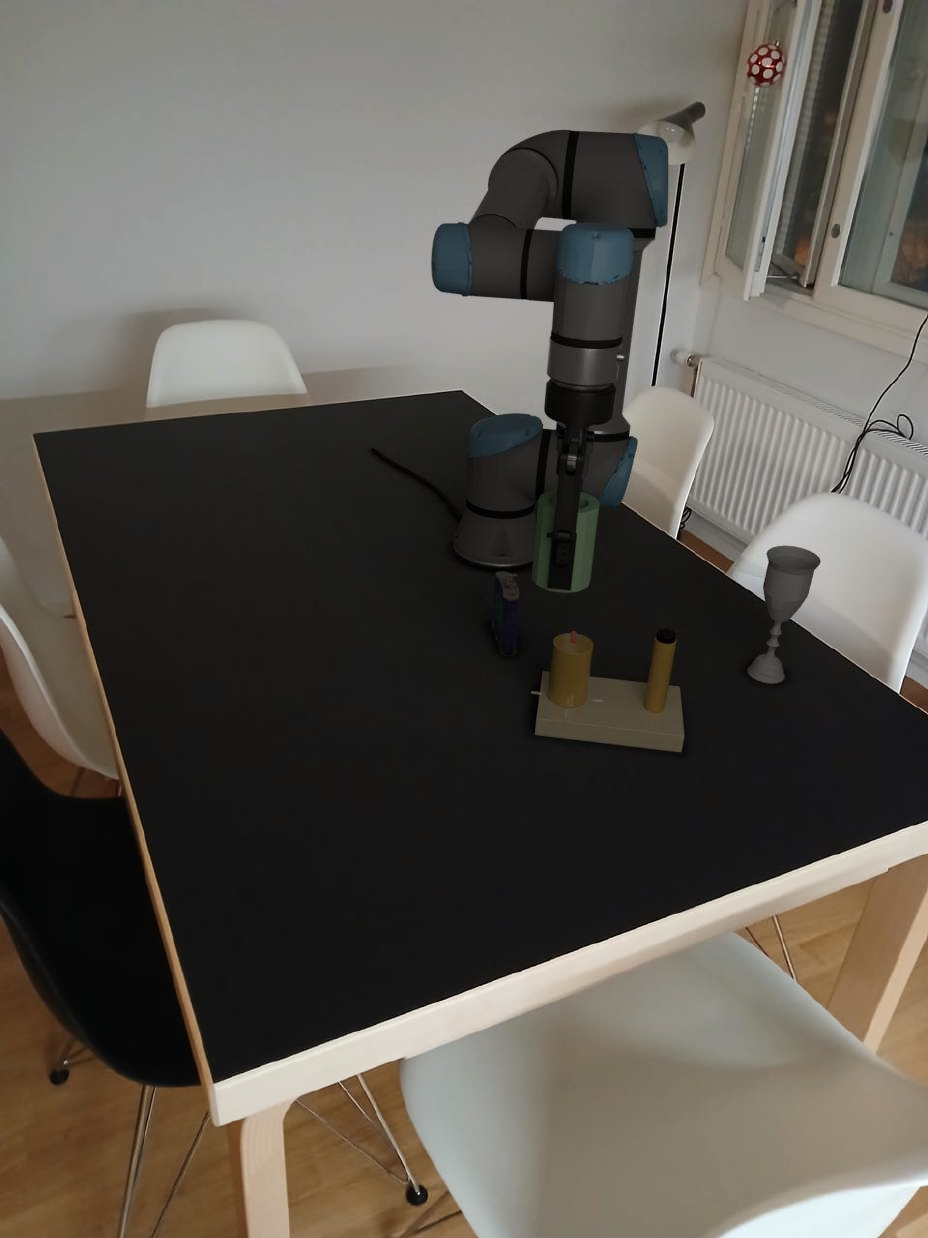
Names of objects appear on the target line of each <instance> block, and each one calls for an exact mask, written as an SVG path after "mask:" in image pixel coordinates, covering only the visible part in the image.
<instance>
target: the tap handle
mask: <svg viewBox="0 0 928 1238" xmlns="http://www.w3.org/2000/svg"><path fill="white" fill-rule="evenodd" d="M593 654H594V642H593V640H592V639H590V638H589V637H588V636H586V635H584V634H581V633H577V631H575V630H571V632H566V633H560V634H558V635H556V636H555V637H554V638H553V641H552V647H551V657H550V667H549V672H550V675H549V685H548V698H549V700H550V701H551V702H552V703H554V704H556V705H558V706H561V707H566V708H574V707H579V706H581V705H583V704H584V703H585V702H586V700H587V693H588V685H589V677H591V669H592V661H593Z"/></svg>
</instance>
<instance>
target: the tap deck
mask: <svg viewBox="0 0 928 1238" xmlns="http://www.w3.org/2000/svg"><path fill="white" fill-rule="evenodd" d="M549 675H550V671H544V670H543V671H542V675H541V682H540V688H539V689H540V690H539V691H536V690H535V691H534V690H531V692H530V694H532V695H538V704H537V711H536V716H535V717H536V719H535V726H534V727H535V728H534V735H535V736H540V737H550V738H557V739H566V740H574V741H582V742H583V741H584V742H592V743H598V744H599V743H600V744H606V745H607V744H609V745H614V746H615V745H616V746H625V747H633V748H640V749H641V748H642V749H650V750H657V751H665V752H666V751H667V752H674V753H675V752H676V753H682V751H683V746H684V741H685V727H684V715H683V703H682V695H681V686H678V685H670V684H669V686H668V692H667V698H666V703H665V709H664V711H663V712H661V713H652V712H649V711H647V710H646V709H645V708H644V701H645V695H646V689H647V683H648V682H643V681H633V680H626V679H616V678H607V677H599V676H598V677H597V676H590V677H589V685H588V693H587V700H586V702H585V703H584V704H583V705H581V706H579V707H574V708H566V707H561V706H558V705H556V704H554V703H552V702H551V701H550V700H549V698H548V685H549Z"/></svg>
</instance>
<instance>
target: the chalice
mask: <svg viewBox="0 0 928 1238" xmlns="http://www.w3.org/2000/svg"><path fill="white" fill-rule="evenodd" d="M766 558H767V561H768V562H767V566H766V570H765V571H766V572H765V576H764V580H763V584H762V591H763V596H764V597H763V598H764V602H765V606H766V609H767V613H768V617H769V618H770V619H772V620H773V621H774V622H773V623H774V624H773V625H772V628H771V629H769V633H770V638H769V640H767V641H766V645H767V651H766V653H762V654H759V655H758V656H757V657H755V658H754V661H752V662H751V664H750V665H749V666H748V667H747V669H746V670H747V674H748V675H749V676H750V677H751V678H752V679H754V680H755V681H758V682H761V683H763V684H764V683H765V684H778V683H781V682H783V681H784V680H785V678H786V675H785V673H784V668H783V663H782V661H781V659H780V658H779V657H777V656H776V655H775V651H776V649H777V648H778V647H780V642H779V637H780V635H782V630H781V627H782V626H781V625H782V623H785V622H788V621H790V620H791V619H792V617H793V616H795V614H796V613H797V612H798V611H799V610H800V608H801V607H802V606H803V604H804V602H805V601H806V600H807V598H808V597H809V594H810V590H811V585H812V582H813V577H814V574H815V571H816V569H817V568H818V567H819V566H820V565H821V563H822V561H821V558H820V557H819V556H818V555H817V554H816V553H815V552H813V551H811V550H810V549H806V548H803V547H800V546H795V545H777V546H772V547H771V548H769V549H768V550H767V552H766Z"/></svg>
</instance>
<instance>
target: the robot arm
mask: <svg viewBox="0 0 928 1238" xmlns="http://www.w3.org/2000/svg"><path fill="white" fill-rule="evenodd" d="M668 215H669V147H668V143H667V141H666V140H664V139H663V137H660V136H658V135H652V134H651V135H650V134H644V133H638V132H633V133H631V132H612V131H610V132H609V131H592V130H591V131H590V130H589V131H588V130H571V129H555V130H549V131H544V132H541V133H538V134H535V135H532V136H530V137H528V138H525V139H524V140H521V141H519V142H518V143H516V144H514V145H513V146H511V147H509V148H508V149H506V151H504V152H503V154H501V155H500V156H499V157H498V159H497V160H496V162H495V163H494V164H493V166H492V168H491V170H490V172H489V176H488V182H487V191H486V193H485V194H484V196H483V197H482V200H481V201H480V202H479V204H478V206H477V208H476V210H475V211H474V213H473V215H472V216H471V218H470V219H469V221H468V223H465V222H464V221H459V222H456V223H455V222H444V223H441V224H440V225H438V227H437V228H436V230H435V231H434V232H435V233H434V236H433V240H432V246H431V258H430V259H431V260H430V263H431V264H430V269H431V279H432V283H433V285H434V287H435V289H436V290H437V291H438V292H440V293H446V294H453V295H460V296H461V297H463V298H465V297H466V298H467V297H477V298H491V299H492V298H493V299H506V300H507V299H509V300H519V301H520V300H522V301H524V300H525V301H531V302H532V301H533V302H545V303H553V305H552V321H551V330H550V336H549V340H548V351H547V353H548V354H547V363H546V375H547V376H548V378H549V379H548V380H547V381H546V383H545V394H544V407H543V412H544V414H545V415H546V417H547V418H548V419H550V420H552V421H554V422H555V429H551V428H544V424H543V420H542V418H540V417H539V416H537V415H531V414H530V413H523V412H522V413H519V412H511V413H501V414H495V415H491V416H489V417H485V418H483V419H481V420H479V421H477V422H476V423H475V424H474V425H473V426H472V427H471V428H470V431H469V437H468V446H467V449H466V455H467V466H466V488H465V506H464V510H463V513H462V515H461V514H460V513H459V512H458V511H457V509H456V508H455V507H454V505H453V504H452V502H451V501H450V499H448V497H447V496H446V495H445V494H444V493H443V492H442V491H441V490H440V489H439V488H438V487H437V486H436V485H435V484H433V483H432V482H430V481H429V480H427V479H425V478H424V477H422V476H420V475H419V474H417V473H416V472H414V471H412V470H411V469H408V468H407V467H406V466H403V465H401V464H399V463H397V462H395V461H394V460H392V459H390V458H388V456H385V455H384V454H383V453H381V452H380V451H378V450H377V449H376V448H374V447H371V448H370V451H371V452H373V453H374V454H375V455H377V456H378V457H380V459H382V460H384V461H385V462H387V463H388V464H389V465H392V466H393V467H396V468H397V469H399V470H401V471H403V472H404V473H406V474H407V475H410V476H412V477H414V478H415V479H417V480H419V481H420V482H422V483H424V484H425V485H427V486H428V487H429V488H430V489H432V490H433V492H435V493H437V495H438V496H439V497H440V498H441V499H442V500H443V501H444V502H445V504H447V506H448V508H449V509H450V510H451V512H452V514H453V515H454V516H455V517H456V518H457V519H458V520H460V521H459V523H458V525H457V529H456V531H455V533H454V536H453V540H452V552H453V555H454V556H455V557H456V558H457V560H458V561H460V562H462V563H464V564H466V565H468V566H470V567H473V568H476V569H481V570H484V571H491V572H492V571H494V572H500V571H505V572H512V571H519V570H523V569H527V568H530V567H533V555H534V544H535V532H536V521H537V514H536V503H537V502H538V500H539V498H540V496H541V494H544V493H546V492H549V491H553V490H557V498H556V508H555V518H554V527H553V532H547V535H546V538H552V545H551V555H550V565H549V576H548V586H547V588H552V589H560V590H569V591H571V586H572V577H573V568H574V559H575V550H576V540H577V533H576V528H577V519H578V510H579V502H580V493H581V492H583V493H586V494H589V495H591V496H594V497H595V498H596V499H597V500H598V501H599V502H600V505H599V509H600V508H603V509H615V508H617V507H618V506H619V505H621V503H622V502H623V499H624V497H625V494H626V491H627V488H628V485H629V481H630V478H631V475H632V470H633V466H634V461H635V458H636V457H635V456H636V453H637V449H638V443H639V442H638V441H639V440H638V438H637V437H634V435H631V424H630V422H629V421H628V420H627V418H625V416H624V414H623V413H624V412H623V411H624V403H625V395H626V387H627V381H628V380H627V379H628V372H629V364H630V357H631V356H630V355H631V348H632V341H633V340H632V339H633V332H634V325H635V316H636V309H637V301H638V295H639V294H638V292H639V285H640V278H641V269H642V262H643V253H644V252H645V250H646V249H647V248H648V247H649V246H650V245H651V244H653V243H654V241H656V234H657V228H659V229H662V228H663V227H666V226H668V221H669V216H668ZM542 218H546V219H555V220H556V219H557V220H564V221H574V222H575V223H569V224H567V225H565V226H564V227H563V228H562V229H561V230H557V229H556V230H555V229H540V228H536V226H537V224H538V221H540V219H542Z"/></svg>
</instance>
